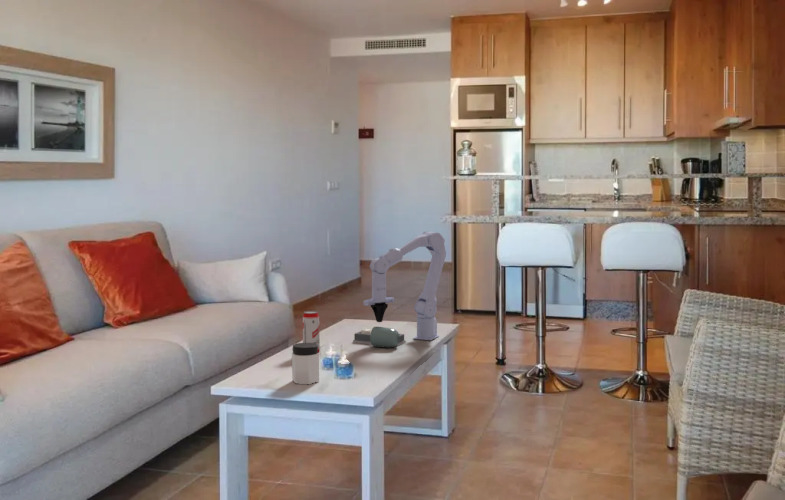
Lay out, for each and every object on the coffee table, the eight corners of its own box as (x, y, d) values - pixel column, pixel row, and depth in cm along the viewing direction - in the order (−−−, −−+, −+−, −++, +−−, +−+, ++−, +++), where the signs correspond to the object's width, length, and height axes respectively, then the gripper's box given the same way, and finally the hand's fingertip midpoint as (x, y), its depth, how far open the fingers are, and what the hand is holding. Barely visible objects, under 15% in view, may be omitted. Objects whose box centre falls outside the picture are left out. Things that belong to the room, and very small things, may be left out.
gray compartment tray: (362, 338, 325) (362, 330, 325) (405, 342, 317) (405, 334, 316) (352, 342, 317) (352, 333, 317) (397, 346, 309) (397, 337, 309)
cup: (394, 329, 302) (370, 327, 305) (393, 349, 302) (369, 347, 305) (401, 327, 309) (378, 325, 313) (400, 347, 309) (377, 345, 313)
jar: (306, 376, 261) (306, 341, 260) (324, 380, 256) (323, 344, 255) (286, 382, 254) (286, 345, 253) (304, 386, 249) (303, 349, 248)
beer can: (322, 352, 298) (322, 311, 296) (315, 356, 292) (315, 313, 290) (307, 351, 300) (306, 310, 298) (300, 355, 294) (299, 312, 292)
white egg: (363, 336, 322) (363, 328, 322) (372, 336, 320) (372, 329, 320) (359, 337, 318) (359, 330, 318) (368, 338, 317) (368, 331, 316)
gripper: (386, 285, 323) (386, 318, 324) (358, 288, 313) (358, 322, 315) (397, 287, 317) (397, 320, 319) (369, 290, 308) (369, 324, 309)
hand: (379, 321), depth 316 cm, fingers closed
